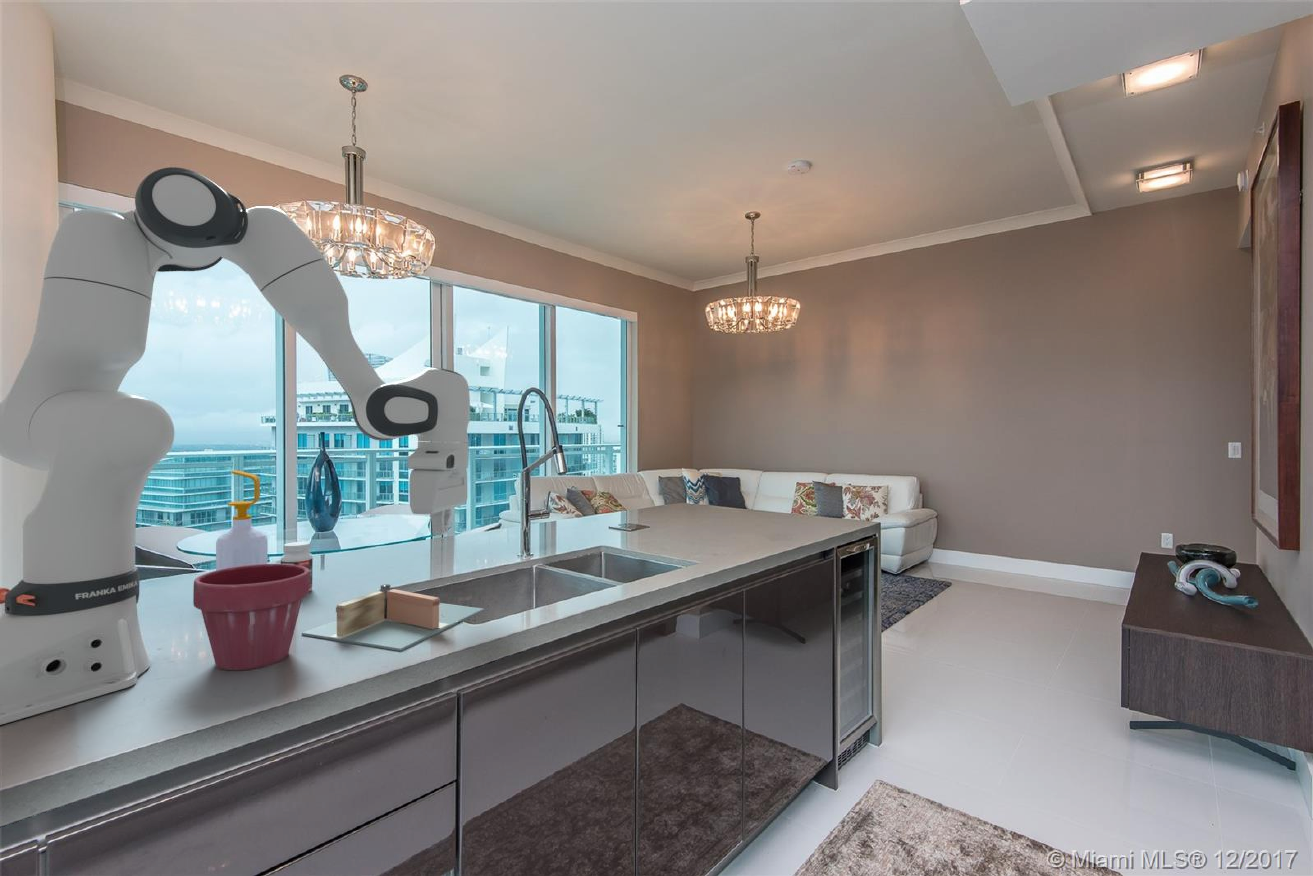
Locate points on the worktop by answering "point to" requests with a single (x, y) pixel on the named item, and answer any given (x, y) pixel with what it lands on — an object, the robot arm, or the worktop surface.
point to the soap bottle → (242, 536)
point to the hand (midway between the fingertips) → (440, 534)
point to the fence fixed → (360, 613)
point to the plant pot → (251, 612)
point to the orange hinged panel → (413, 608)
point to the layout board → (395, 629)
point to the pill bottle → (298, 556)
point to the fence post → (384, 589)
